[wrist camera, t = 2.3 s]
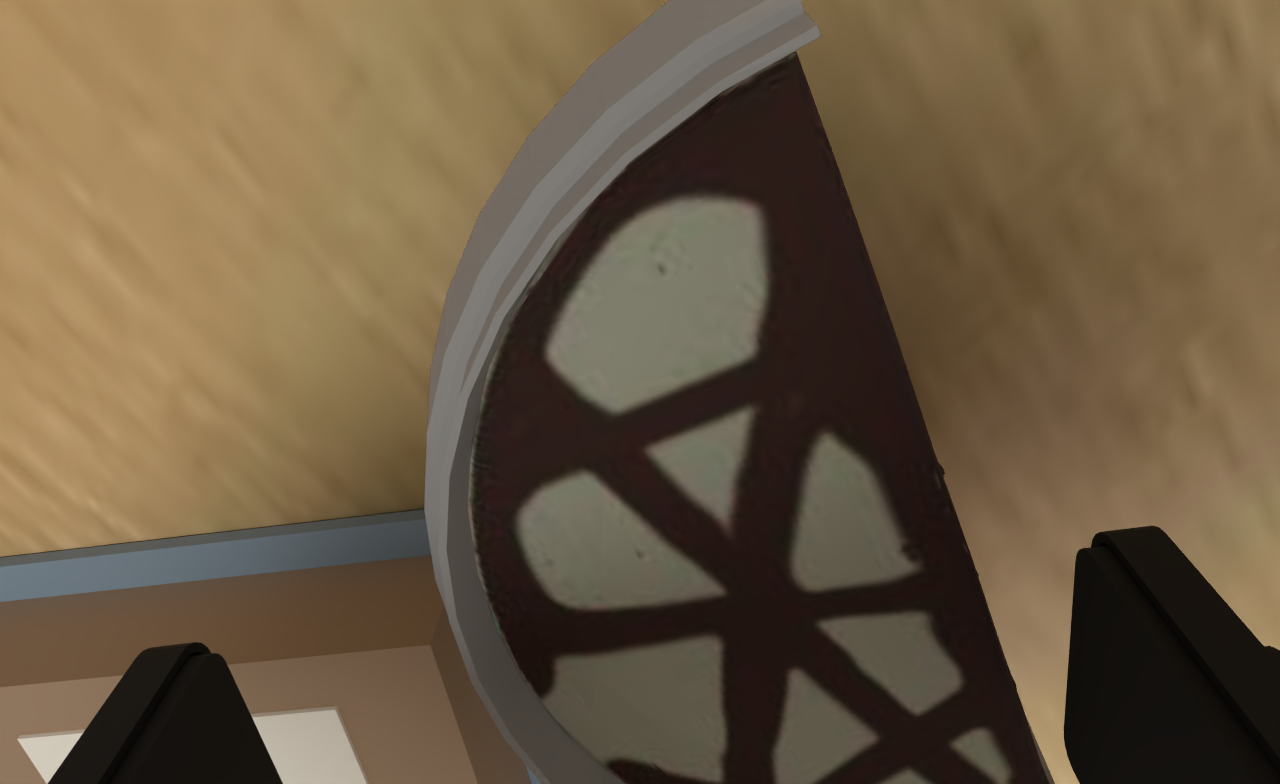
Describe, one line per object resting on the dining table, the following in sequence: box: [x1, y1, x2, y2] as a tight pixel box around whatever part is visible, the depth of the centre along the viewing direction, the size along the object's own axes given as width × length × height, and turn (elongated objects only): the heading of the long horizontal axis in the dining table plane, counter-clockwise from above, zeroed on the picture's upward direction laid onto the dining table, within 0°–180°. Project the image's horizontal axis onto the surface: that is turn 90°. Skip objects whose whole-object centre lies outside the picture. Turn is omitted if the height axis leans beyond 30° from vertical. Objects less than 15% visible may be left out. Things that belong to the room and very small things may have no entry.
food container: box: [424, 0, 1055, 784], centre depth 14 cm, size 12×6×10 cm, turn 24°
